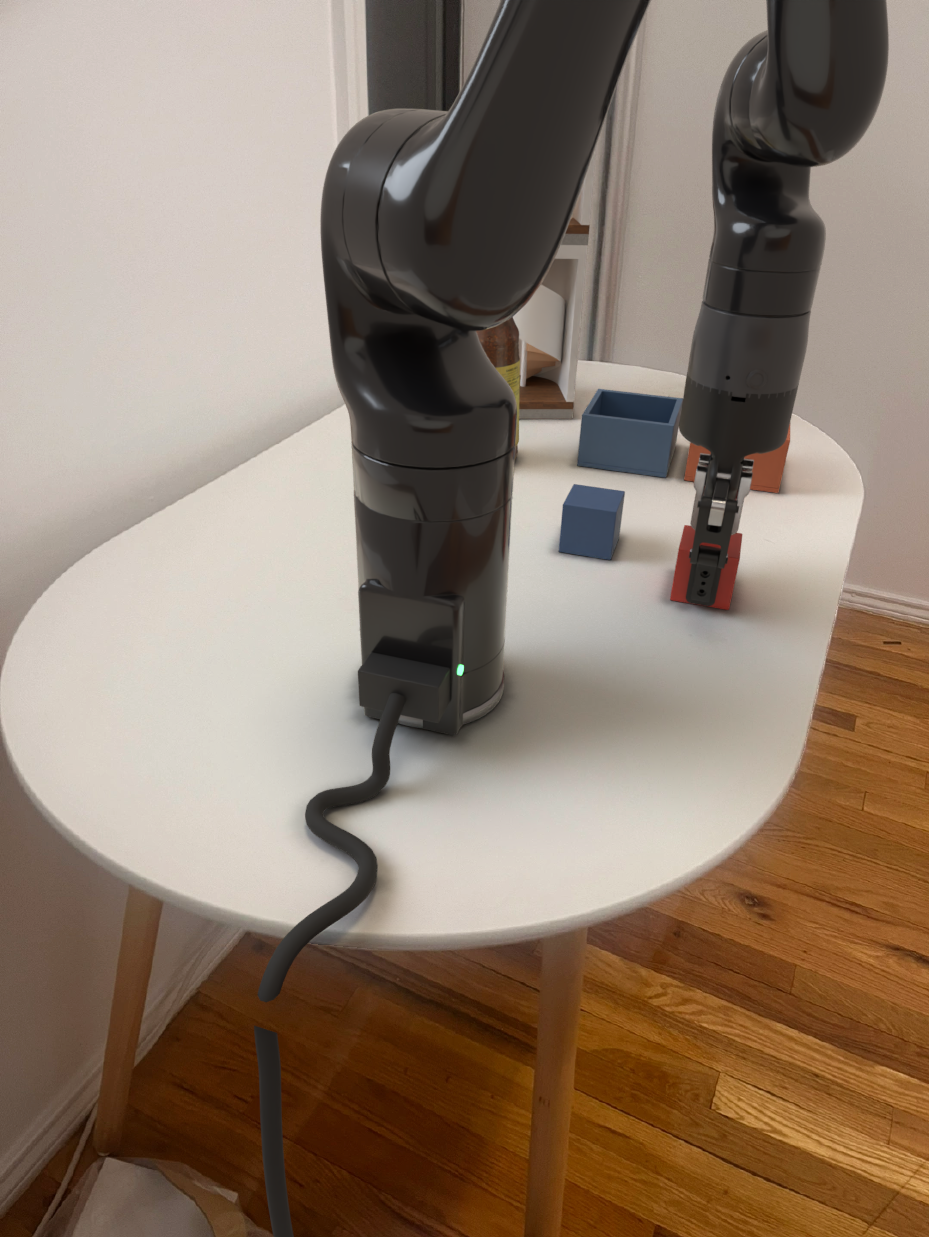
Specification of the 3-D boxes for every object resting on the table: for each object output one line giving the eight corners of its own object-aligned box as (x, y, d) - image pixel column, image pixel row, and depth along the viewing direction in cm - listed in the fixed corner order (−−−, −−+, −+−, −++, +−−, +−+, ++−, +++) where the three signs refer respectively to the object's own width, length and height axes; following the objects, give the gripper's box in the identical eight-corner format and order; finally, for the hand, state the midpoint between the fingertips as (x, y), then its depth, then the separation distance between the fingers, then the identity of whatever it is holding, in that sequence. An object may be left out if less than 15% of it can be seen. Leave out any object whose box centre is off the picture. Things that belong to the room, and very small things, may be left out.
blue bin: (665, 478, 90) (673, 426, 87) (576, 465, 92) (581, 414, 89) (675, 447, 97) (683, 398, 94) (593, 436, 99) (598, 388, 96)
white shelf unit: (476, 388, 113) (485, 67, 95) (558, 388, 114) (583, 70, 95) (483, 418, 104) (494, 68, 85) (572, 418, 104) (603, 70, 86)
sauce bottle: (519, 449, 96) (530, 254, 85) (516, 471, 90) (527, 266, 80) (459, 446, 96) (462, 251, 85) (452, 468, 91) (455, 263, 80)
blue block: (610, 560, 74) (616, 511, 72) (558, 552, 75) (562, 503, 73) (619, 537, 78) (625, 490, 76) (569, 530, 79) (573, 483, 77)
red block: (728, 610, 68) (739, 558, 65) (669, 600, 69) (678, 549, 67) (732, 583, 71) (742, 533, 69) (676, 573, 73) (684, 524, 70)
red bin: (778, 493, 87) (790, 440, 84) (683, 480, 89) (692, 428, 86) (779, 460, 94) (790, 410, 92) (692, 449, 97) (700, 400, 94)
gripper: (696, 341, 68) (665, 541, 77) (677, 397, 56) (642, 623, 65) (799, 352, 66) (754, 554, 75) (800, 411, 54) (747, 642, 63)
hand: (702, 585), depth 70 cm, fingers closed on red block, 4 cm apart
